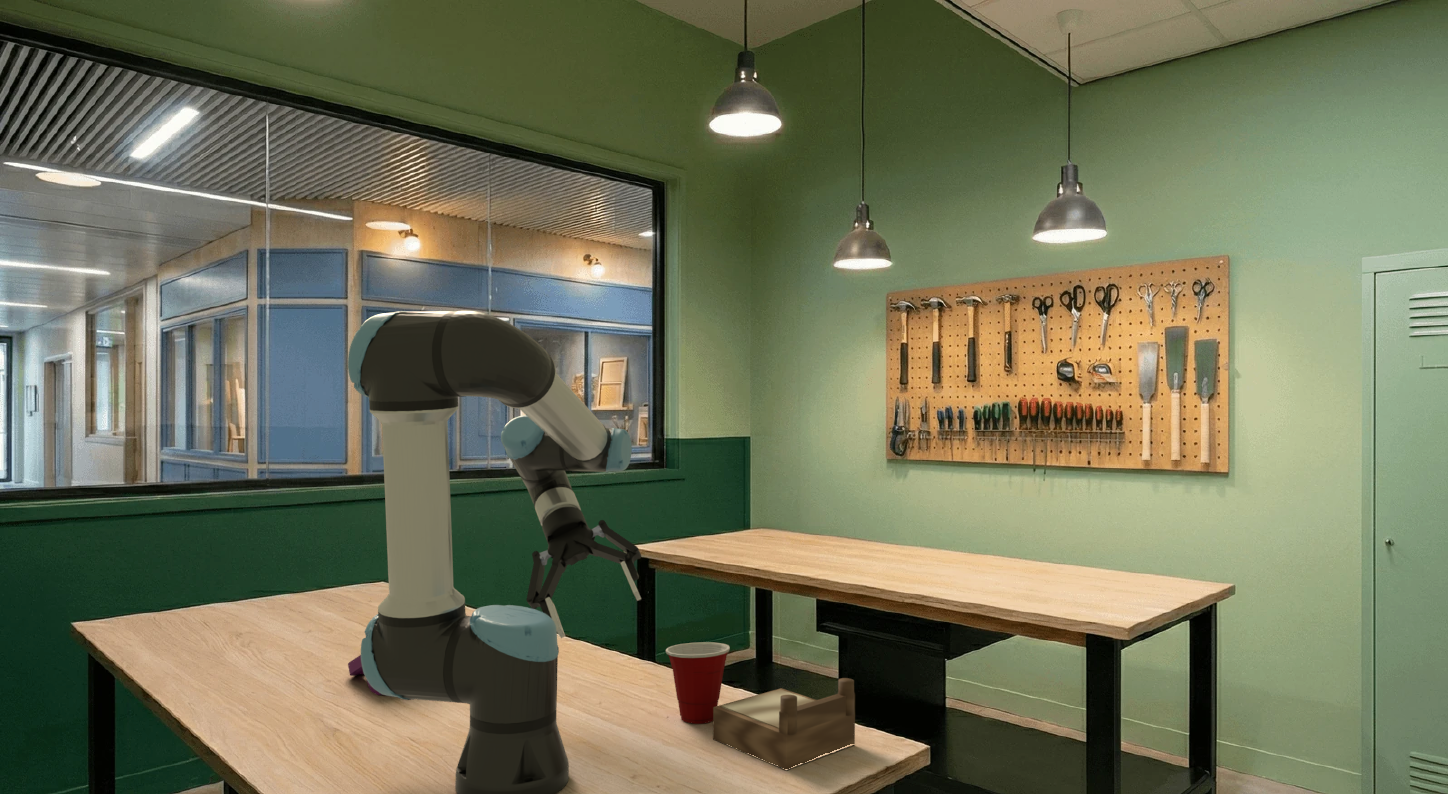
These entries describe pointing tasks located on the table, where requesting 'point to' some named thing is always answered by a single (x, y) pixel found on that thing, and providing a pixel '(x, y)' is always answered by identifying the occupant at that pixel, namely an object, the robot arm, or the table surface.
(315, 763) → the table surface
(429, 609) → the robot arm
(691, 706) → the plastic cup
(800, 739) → the walnut stand
